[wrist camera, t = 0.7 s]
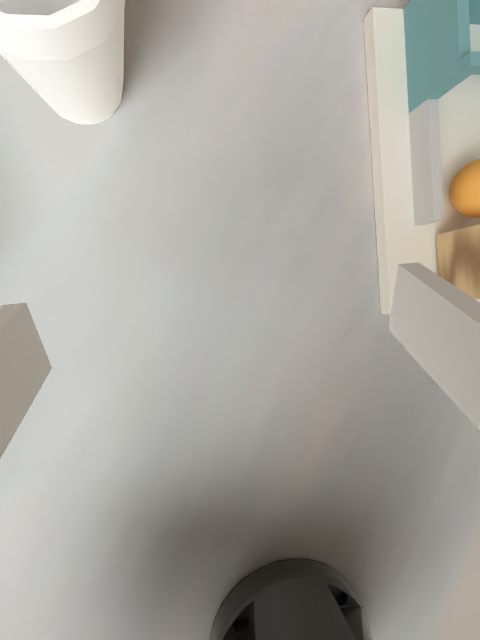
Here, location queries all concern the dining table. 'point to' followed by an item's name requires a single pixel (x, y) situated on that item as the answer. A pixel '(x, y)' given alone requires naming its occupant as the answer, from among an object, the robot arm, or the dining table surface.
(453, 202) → the ball
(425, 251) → the board
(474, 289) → the block
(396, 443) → the dining table surface
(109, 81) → the foam cup
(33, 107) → the dining table surface
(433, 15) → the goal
